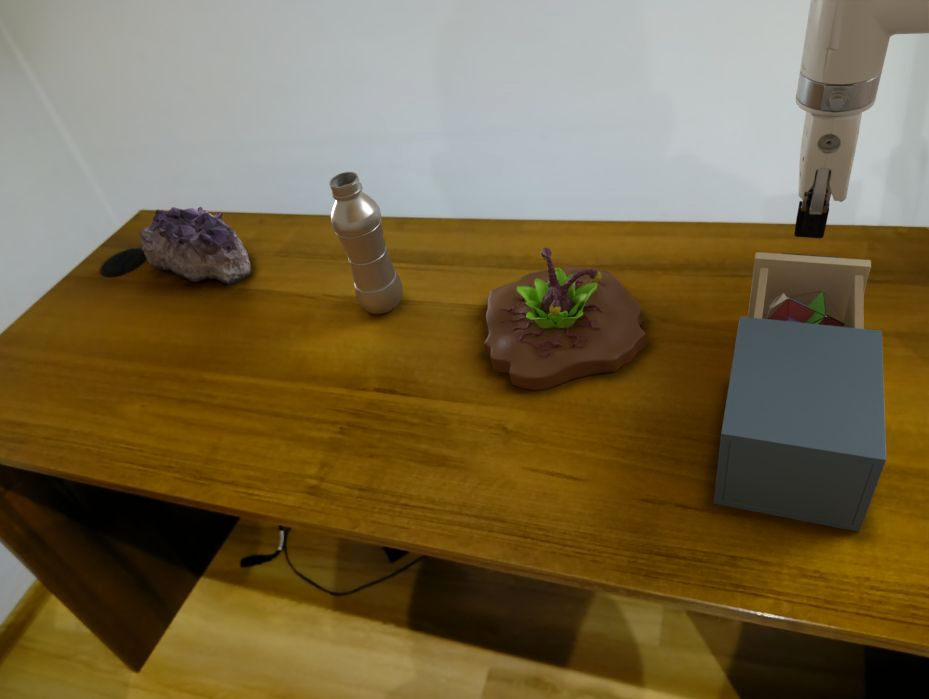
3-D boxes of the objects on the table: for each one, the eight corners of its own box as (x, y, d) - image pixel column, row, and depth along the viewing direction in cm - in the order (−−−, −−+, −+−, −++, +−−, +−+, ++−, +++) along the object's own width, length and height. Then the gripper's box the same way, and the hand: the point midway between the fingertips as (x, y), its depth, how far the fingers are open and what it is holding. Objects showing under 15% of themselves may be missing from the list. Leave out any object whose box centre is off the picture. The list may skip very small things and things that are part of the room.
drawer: (751, 289, 89) (759, 230, 83) (854, 298, 85) (870, 236, 79) (735, 398, 77) (743, 339, 71) (854, 415, 73) (873, 353, 67)
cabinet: (731, 388, 79) (739, 316, 72) (859, 405, 75) (881, 330, 68) (713, 503, 69) (721, 433, 62) (860, 532, 65) (886, 460, 58)
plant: (612, 266, 98) (610, 196, 91) (664, 361, 84) (666, 287, 76) (471, 300, 98) (456, 232, 91) (498, 401, 84) (483, 331, 76)
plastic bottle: (352, 315, 101) (306, 191, 87) (377, 286, 105) (337, 163, 91) (390, 324, 98) (349, 197, 84) (415, 293, 102) (379, 168, 88)
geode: (278, 250, 116) (251, 203, 109) (233, 301, 111) (202, 255, 103) (192, 227, 125) (162, 181, 118) (147, 272, 120) (112, 228, 112)
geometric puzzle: (851, 317, 79) (821, 265, 75) (857, 360, 74) (825, 307, 71) (785, 337, 83) (754, 289, 80) (787, 379, 78) (754, 330, 75)
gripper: (879, 121, 68) (842, 274, 80) (876, 55, 78) (844, 201, 90) (793, 120, 71) (770, 268, 83) (801, 57, 80) (779, 198, 93)
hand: (808, 233), depth 86 cm, fingers closed
